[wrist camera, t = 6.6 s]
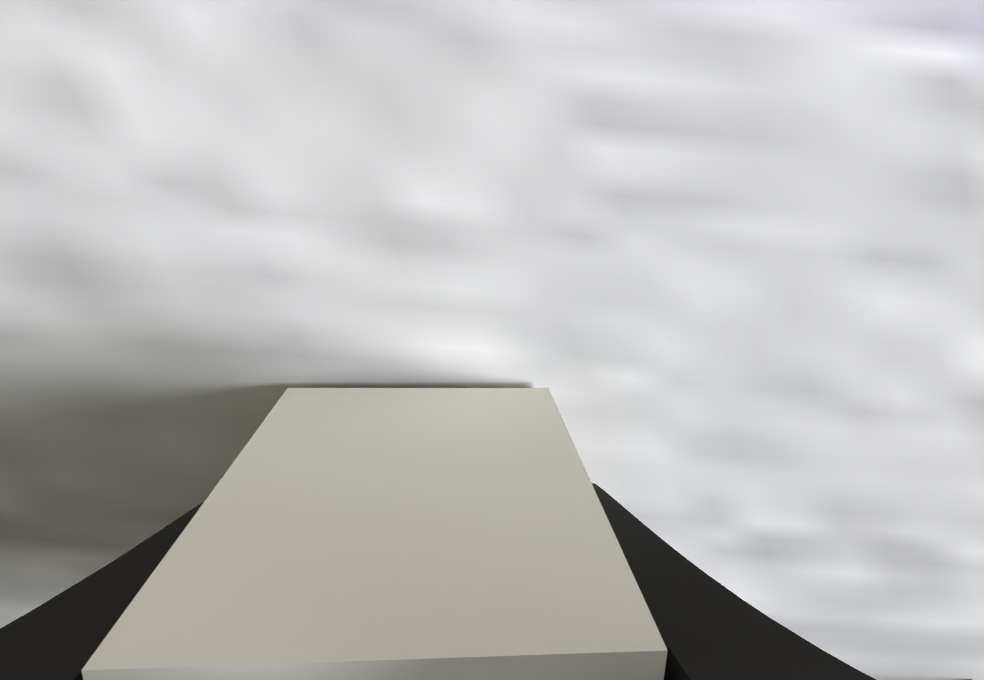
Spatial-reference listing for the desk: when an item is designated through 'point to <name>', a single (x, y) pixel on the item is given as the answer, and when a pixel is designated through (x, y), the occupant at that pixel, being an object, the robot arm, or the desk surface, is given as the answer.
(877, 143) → the desk surface
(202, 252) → the desk surface
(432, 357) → the desk surface
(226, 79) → the desk surface
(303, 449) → the block
